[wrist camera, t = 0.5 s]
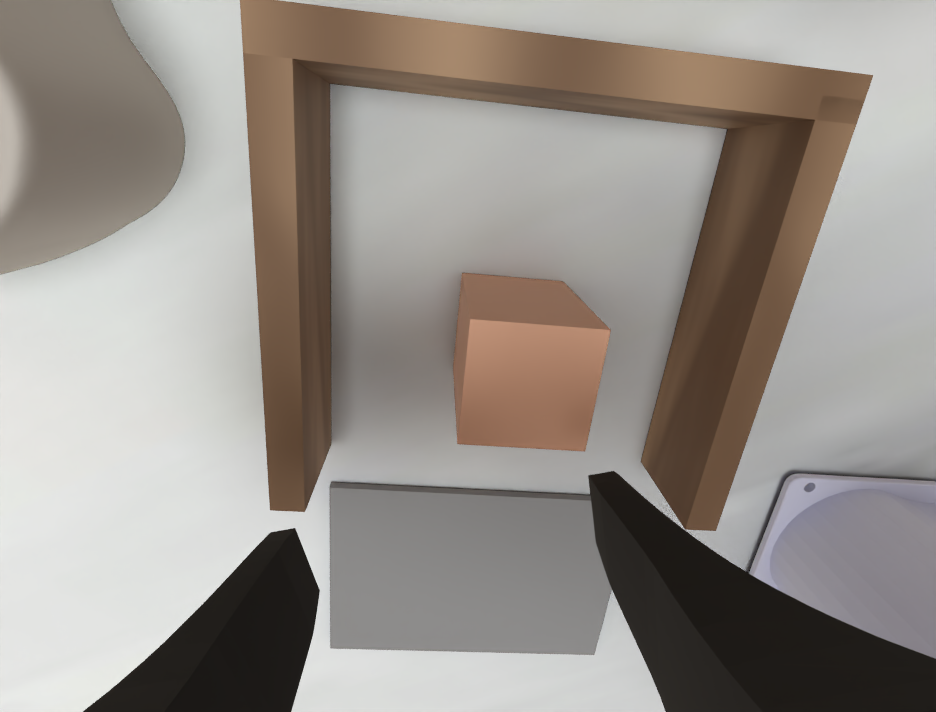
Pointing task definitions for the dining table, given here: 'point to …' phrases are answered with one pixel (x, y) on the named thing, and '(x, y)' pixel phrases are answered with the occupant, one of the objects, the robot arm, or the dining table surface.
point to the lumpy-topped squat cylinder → (77, 130)
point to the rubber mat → (464, 570)
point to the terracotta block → (525, 363)
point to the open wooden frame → (564, 88)
